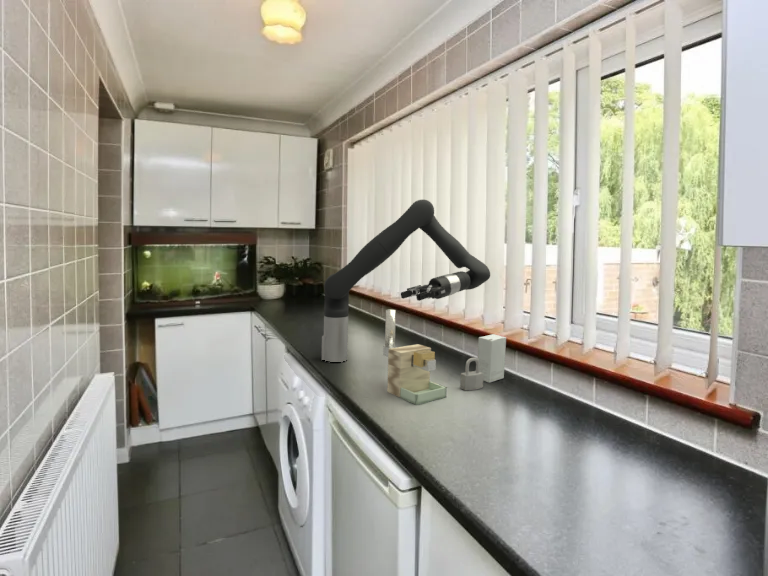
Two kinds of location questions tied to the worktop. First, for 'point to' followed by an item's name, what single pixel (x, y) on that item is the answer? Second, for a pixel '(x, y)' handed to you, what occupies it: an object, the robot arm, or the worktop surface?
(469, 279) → the robot arm
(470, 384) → the padlock
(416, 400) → the tray
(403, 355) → the bearing block
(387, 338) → the crank handle
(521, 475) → the worktop surface
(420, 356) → the spacer
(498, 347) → the skincare box
